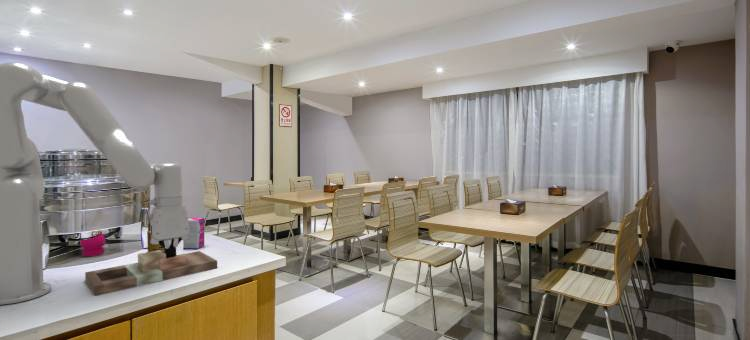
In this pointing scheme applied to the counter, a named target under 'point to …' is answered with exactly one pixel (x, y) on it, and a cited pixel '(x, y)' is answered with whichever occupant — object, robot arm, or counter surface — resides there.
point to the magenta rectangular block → (93, 245)
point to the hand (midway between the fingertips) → (170, 259)
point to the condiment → (153, 246)
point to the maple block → (150, 260)
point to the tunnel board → (147, 272)
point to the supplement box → (195, 234)
